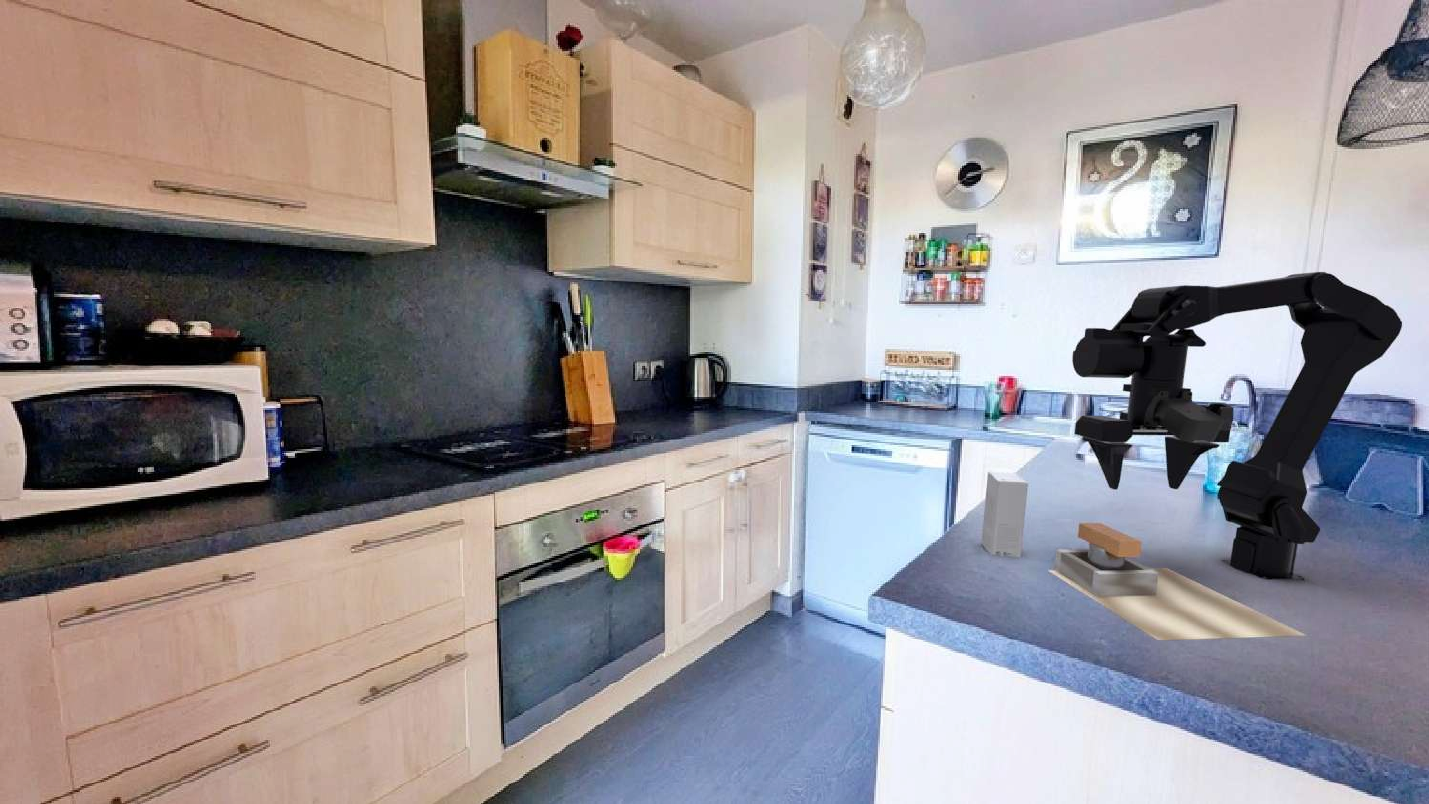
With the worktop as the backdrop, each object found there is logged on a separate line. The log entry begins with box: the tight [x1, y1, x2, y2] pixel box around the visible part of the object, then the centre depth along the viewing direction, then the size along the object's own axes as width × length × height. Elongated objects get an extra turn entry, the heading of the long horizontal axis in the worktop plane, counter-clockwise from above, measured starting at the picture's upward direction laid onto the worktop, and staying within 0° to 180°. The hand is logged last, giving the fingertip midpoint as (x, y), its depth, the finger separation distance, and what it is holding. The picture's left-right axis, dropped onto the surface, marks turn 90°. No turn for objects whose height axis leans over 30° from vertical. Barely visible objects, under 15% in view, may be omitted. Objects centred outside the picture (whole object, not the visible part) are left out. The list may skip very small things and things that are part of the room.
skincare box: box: [981, 471, 1029, 558], centre depth 87 cm, size 6×4×12 cm
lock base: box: [1047, 548, 1307, 642], centre depth 71 cm, size 18×18×4 cm
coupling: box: [1077, 522, 1142, 571], centre depth 76 cm, size 7×4×7 cm, turn 5°
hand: (1143, 488), depth 80 cm, fingers open, 9 cm apart
